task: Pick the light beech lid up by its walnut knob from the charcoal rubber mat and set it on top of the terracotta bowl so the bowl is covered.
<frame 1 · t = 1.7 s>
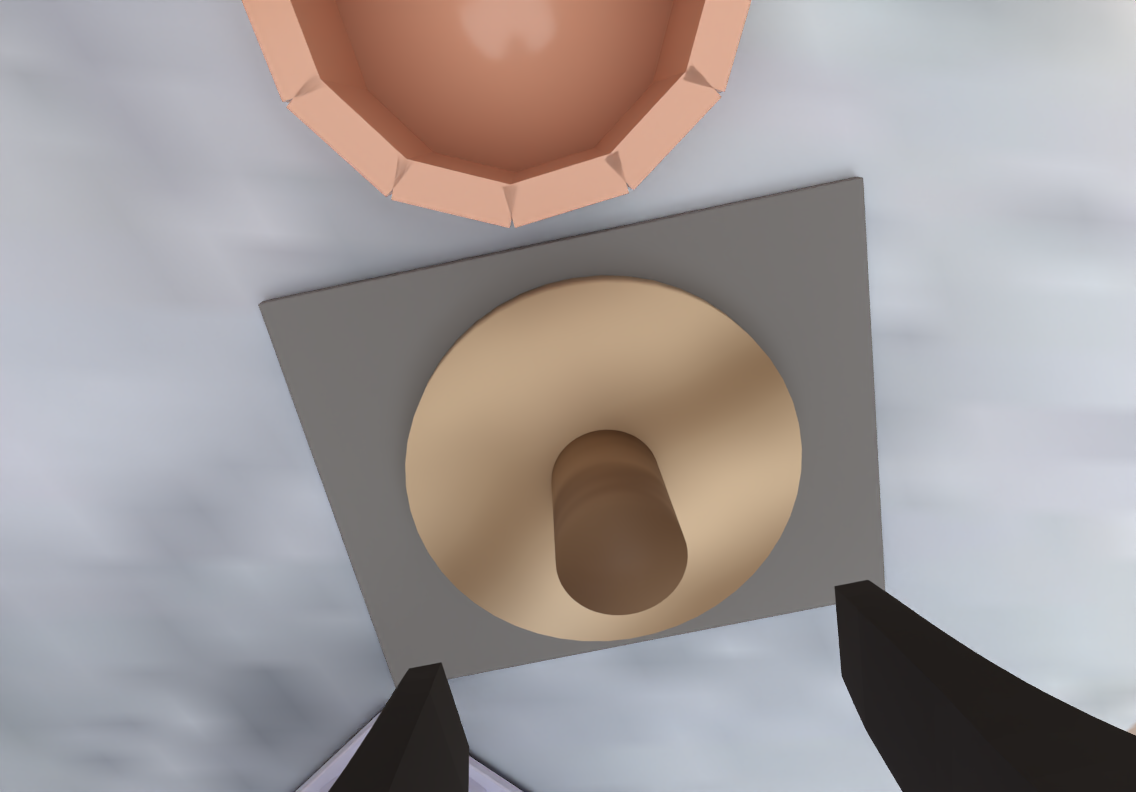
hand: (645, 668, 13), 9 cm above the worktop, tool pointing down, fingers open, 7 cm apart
bowl: (508, 0, 17), on the worktop
mat: (601, 457, 21), on the worktop
lid: (602, 463, 21), resting on mat
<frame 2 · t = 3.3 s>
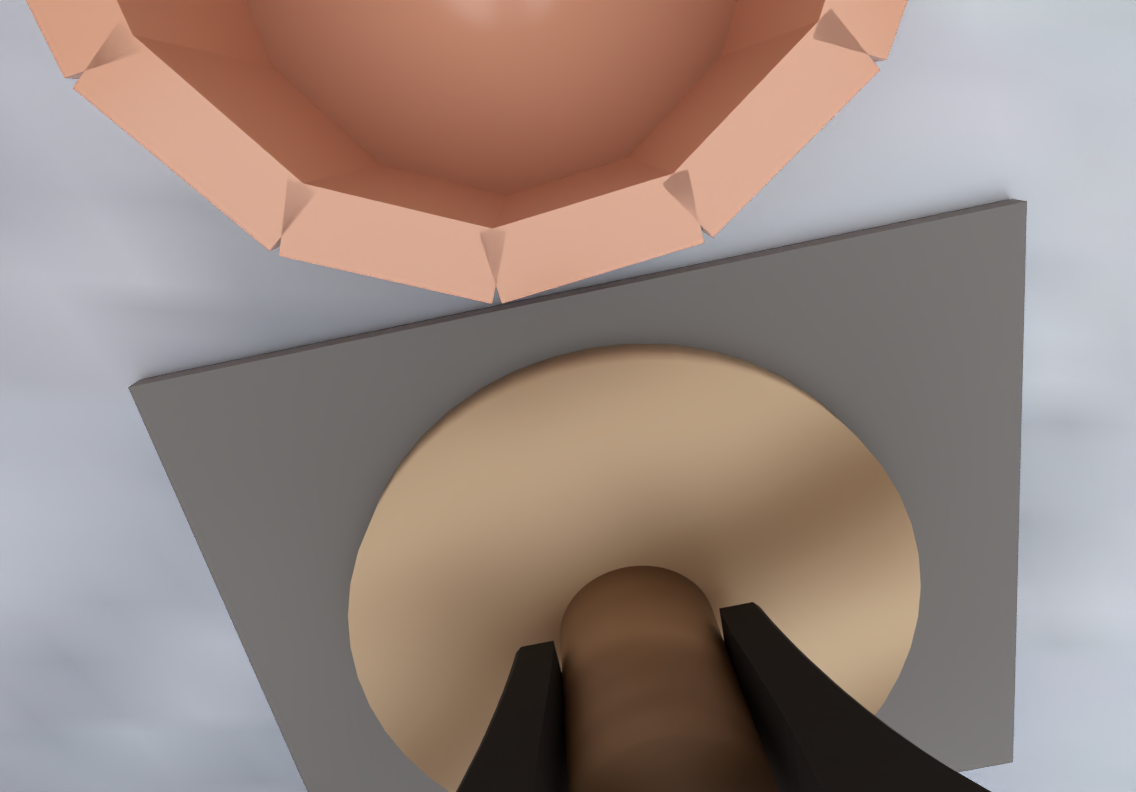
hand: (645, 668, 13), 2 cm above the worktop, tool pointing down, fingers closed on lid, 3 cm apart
mat: (628, 588, 15), on the worktop
lid: (631, 600, 15), resting on mat, touching gripper
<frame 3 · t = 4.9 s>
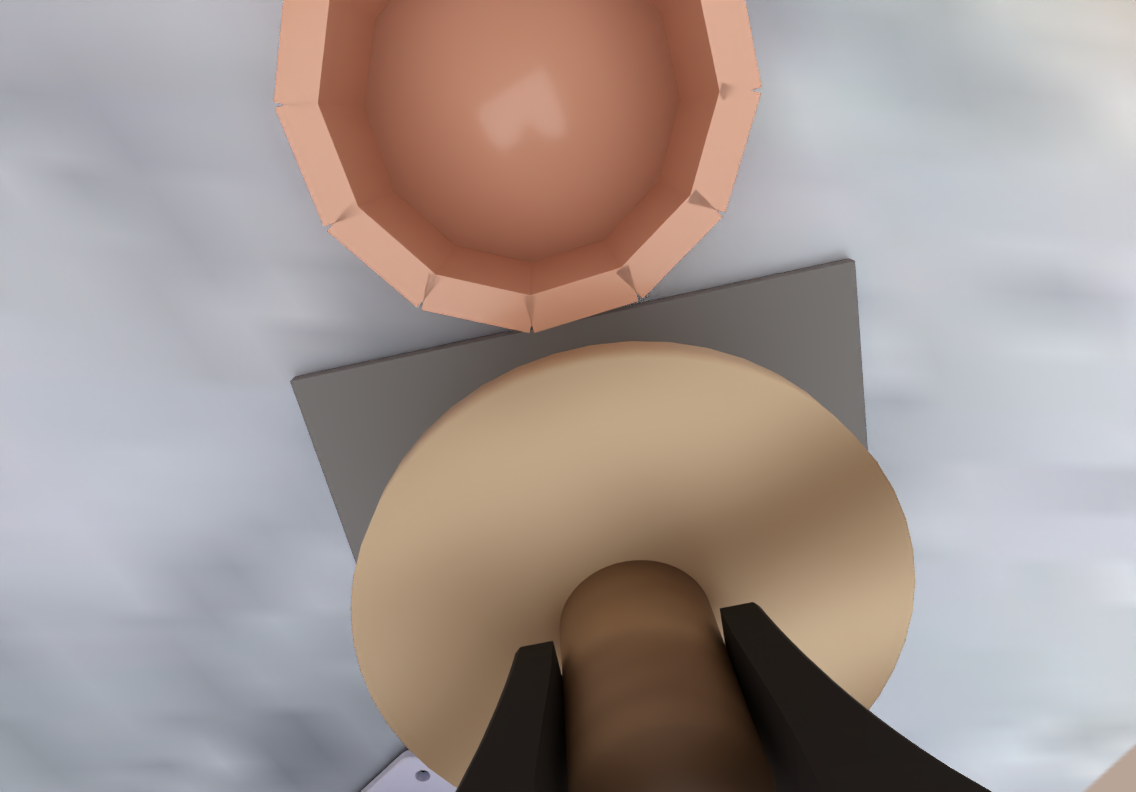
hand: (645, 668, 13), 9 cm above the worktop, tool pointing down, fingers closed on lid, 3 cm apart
bowl: (523, 105, 19), on the worktop
mat: (610, 516, 23), on the worktop
lid: (629, 594, 15), point 7 cm above the worktop, touching gripper
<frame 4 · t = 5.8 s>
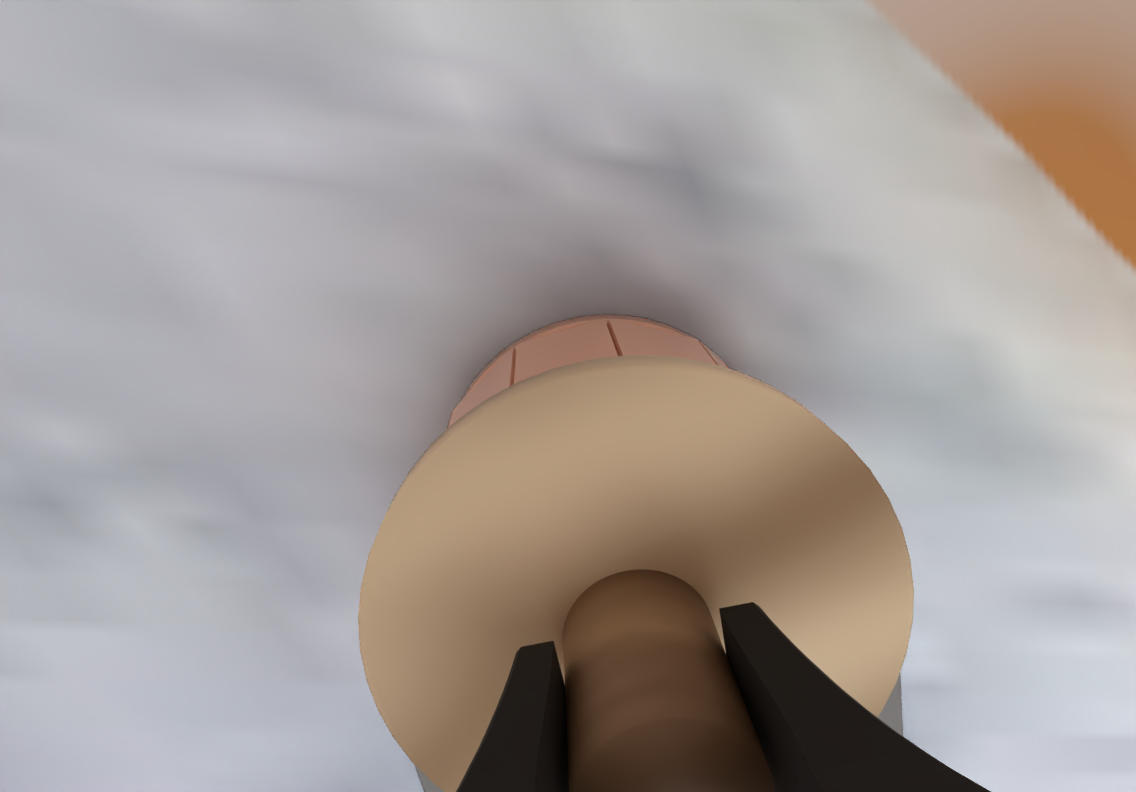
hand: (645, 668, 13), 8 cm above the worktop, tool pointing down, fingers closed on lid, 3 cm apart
bowl: (604, 468, 21), on the worktop
mat: (667, 780, 25), on the worktop
lid: (632, 607, 15), point 6 cm above the worktop, touching gripper
when the fingers open (8 cm above the worktop, at t = 6.5 s): lid stays where it is, resting on bowl.
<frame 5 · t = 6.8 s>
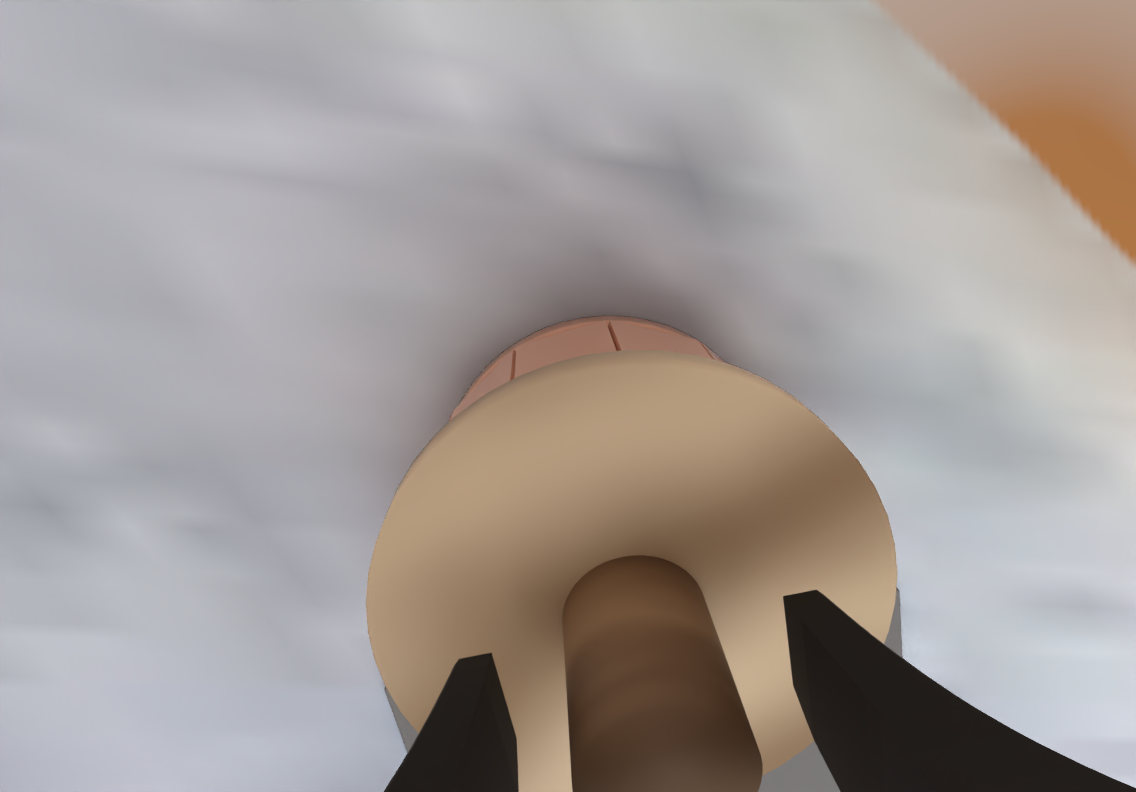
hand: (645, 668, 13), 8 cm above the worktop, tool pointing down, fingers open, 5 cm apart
bowl: (604, 470, 21), on the worktop
mat: (668, 784, 25), on the worktop
lid: (628, 588, 16), point 5 cm above the worktop, touching bowl
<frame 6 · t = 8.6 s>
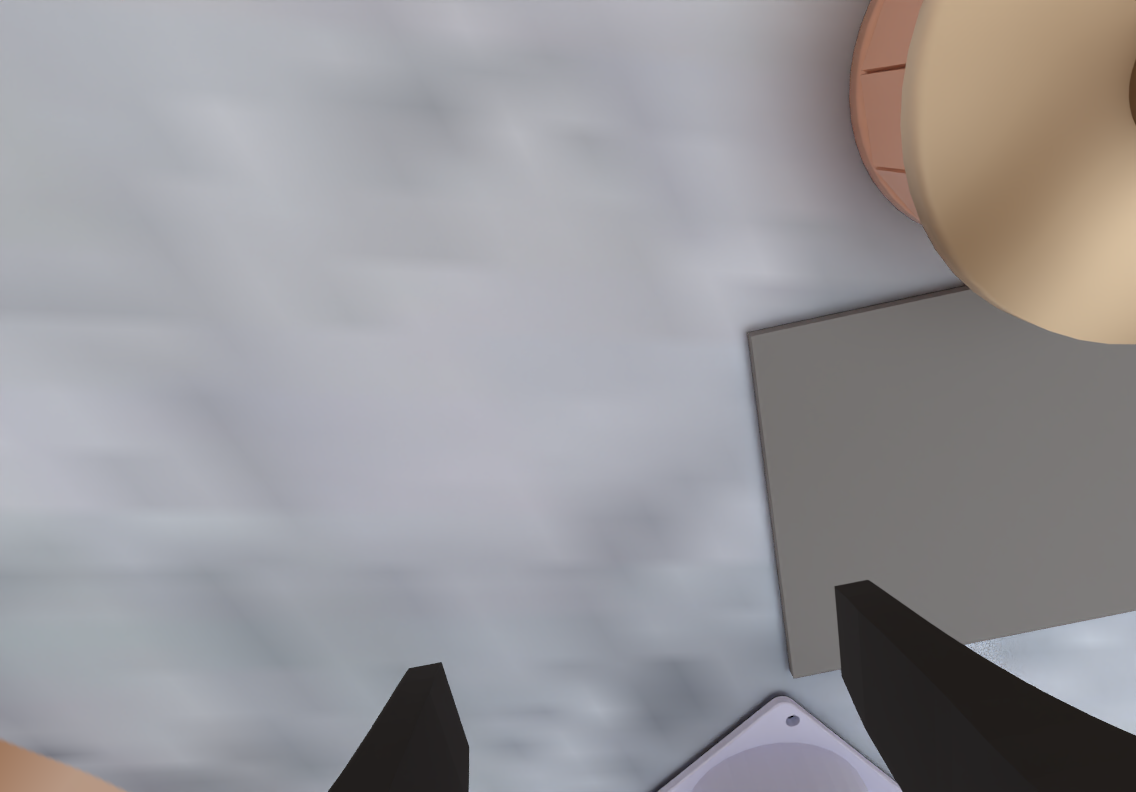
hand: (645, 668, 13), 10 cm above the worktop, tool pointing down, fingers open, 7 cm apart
bowl: (1015, 69, 20), on the worktop
mat: (1011, 468, 24), on the worktop
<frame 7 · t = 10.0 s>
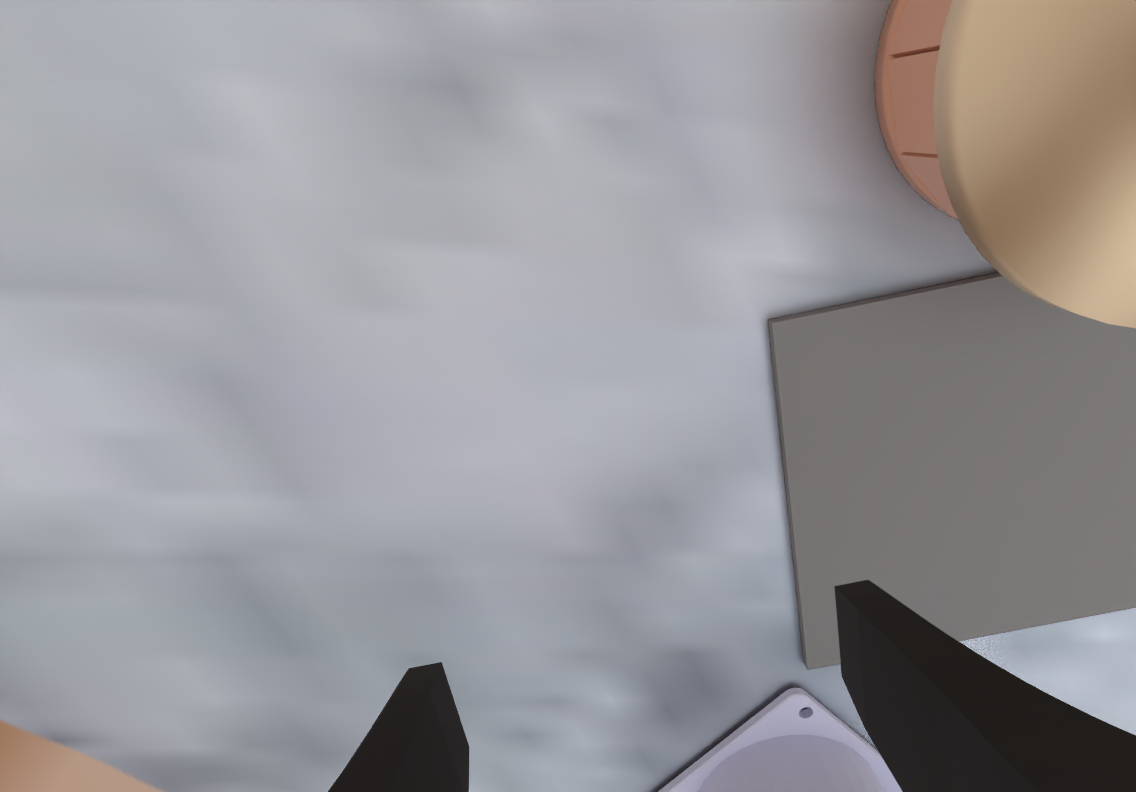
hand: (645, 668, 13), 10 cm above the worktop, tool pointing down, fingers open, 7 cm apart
bowl: (1041, 57, 20), on the worktop
mat: (1029, 459, 24), on the worktop
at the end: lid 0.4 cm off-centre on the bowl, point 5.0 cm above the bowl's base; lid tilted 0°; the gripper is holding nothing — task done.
